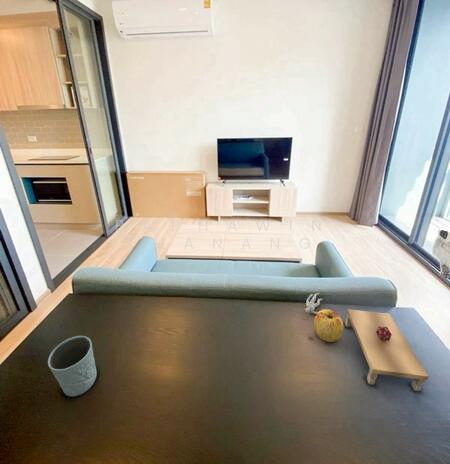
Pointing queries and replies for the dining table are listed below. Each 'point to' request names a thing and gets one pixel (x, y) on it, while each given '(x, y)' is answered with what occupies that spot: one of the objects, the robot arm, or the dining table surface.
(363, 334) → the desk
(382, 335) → the dice
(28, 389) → the dining table surface
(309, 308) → the soldier figure
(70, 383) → the grey cup
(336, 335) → the apple
